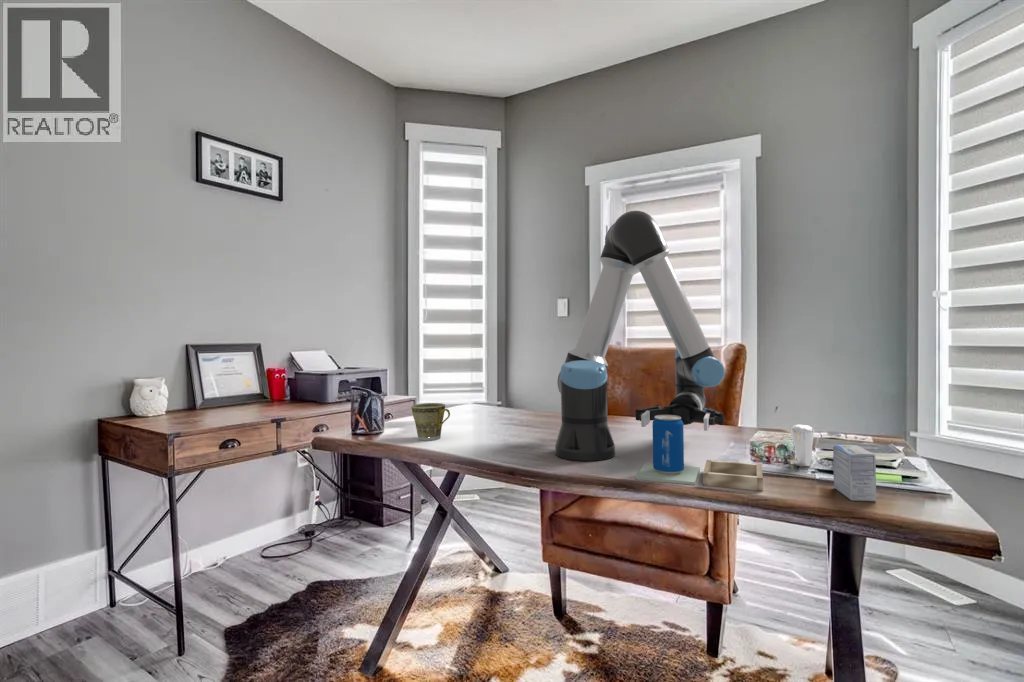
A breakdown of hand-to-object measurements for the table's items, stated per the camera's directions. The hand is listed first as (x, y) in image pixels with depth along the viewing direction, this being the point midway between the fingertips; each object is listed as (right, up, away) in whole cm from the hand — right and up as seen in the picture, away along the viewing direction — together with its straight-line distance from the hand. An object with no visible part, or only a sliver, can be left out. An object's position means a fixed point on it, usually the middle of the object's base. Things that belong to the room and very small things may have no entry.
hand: (673, 422), depth 120 cm
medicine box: (+28, -11, -19) cm, 36 cm away
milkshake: (+30, -10, +2) cm, 32 cm away
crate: (+10, -11, -9) cm, 17 cm away
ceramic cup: (-60, -11, +39) cm, 72 cm away
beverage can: (-2, -10, -3) cm, 11 cm away
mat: (-2, -11, -3) cm, 11 cm away
